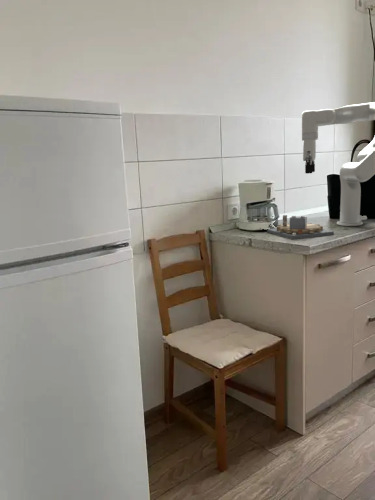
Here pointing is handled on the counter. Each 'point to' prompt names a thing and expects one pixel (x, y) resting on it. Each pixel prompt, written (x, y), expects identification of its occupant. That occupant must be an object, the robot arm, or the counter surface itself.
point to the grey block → (298, 222)
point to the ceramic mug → (273, 224)
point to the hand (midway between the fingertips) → (310, 172)
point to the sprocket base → (299, 236)
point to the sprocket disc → (310, 229)
